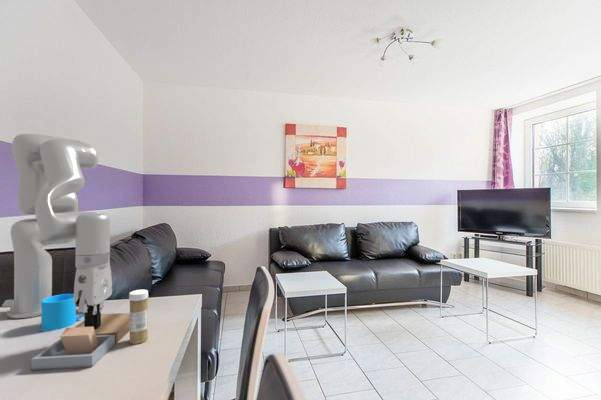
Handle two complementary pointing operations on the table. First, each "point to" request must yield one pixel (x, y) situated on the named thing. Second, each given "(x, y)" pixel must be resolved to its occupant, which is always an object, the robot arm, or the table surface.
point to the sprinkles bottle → (138, 316)
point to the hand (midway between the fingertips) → (92, 328)
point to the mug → (58, 312)
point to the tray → (71, 355)
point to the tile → (79, 340)
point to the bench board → (113, 325)
